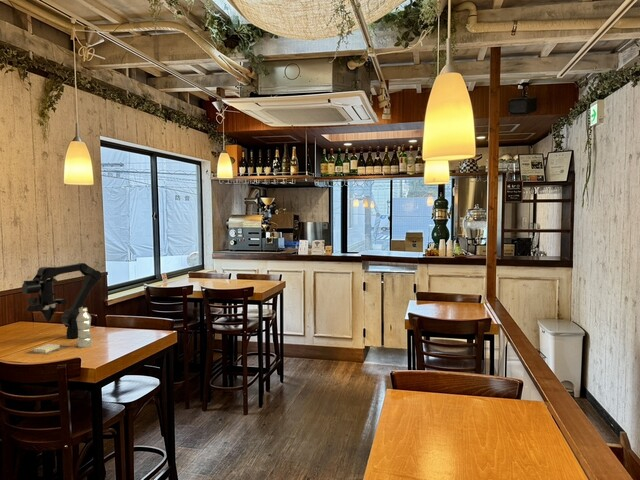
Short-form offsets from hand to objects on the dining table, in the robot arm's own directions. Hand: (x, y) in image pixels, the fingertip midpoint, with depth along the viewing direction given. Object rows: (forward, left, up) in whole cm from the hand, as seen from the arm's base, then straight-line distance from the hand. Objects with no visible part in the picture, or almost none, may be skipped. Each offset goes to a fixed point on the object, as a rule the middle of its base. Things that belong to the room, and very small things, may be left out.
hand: (48, 321), depth 220 cm
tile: (+6, +9, -10) cm, 15 cm away
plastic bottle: (+1, +23, -12) cm, 26 cm away
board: (+9, +9, -12) cm, 17 cm away
